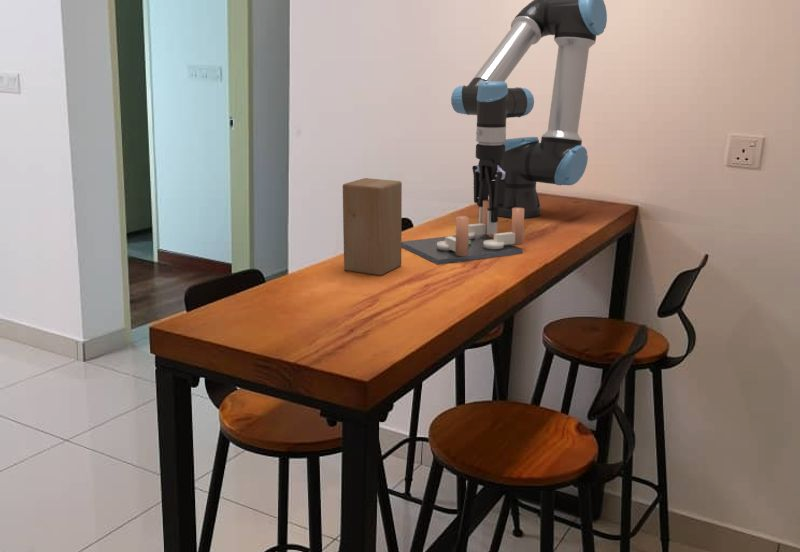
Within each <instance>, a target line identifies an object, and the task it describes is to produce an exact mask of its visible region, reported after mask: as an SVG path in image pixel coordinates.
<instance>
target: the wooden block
mask: <svg viewBox="0 0 800 552" xmlns="http://www.w3.org/2000/svg"><path fill="white" fill-rule="evenodd" d="M402 186H403V185H402V181H400V180H392V179H391V180H390V179H379V178H369V177H365V178H360V179H357V180H353V181H350V182H345V183H343V184H342V218H343V220H342V224H343V227H342V229H343V231H342V233H343V268H344V271H346V272H347V271H348V272H355V273H361V274H369V275H375V276H384V275H385V274H387V273H390V272H391V271H393V270H395V269H397V268H400V267H401V266H402V247H401V242H402V230H403V229H402V224H403V223H402V213H403V210H402V202H403V201H402V200H403V199H402V195H403V194H402V193H403V191H402V190H403V189H402Z"/></svg>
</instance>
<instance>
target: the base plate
mask: <svg viewBox="0 0 800 552" xmlns="http://www.w3.org/2000/svg"><path fill="white" fill-rule="evenodd" d="M449 236H450V235H447V236H439V237H437V236H436V237H430V238H421V239H413V240H404V241H402V240H401V249H402V248H403V249H405V250H407V251H409V252H410V253H413V254H414V255H417V256H420V257H421V258H423V259H425V260H427V261H429V262H432V263H434V264H435V265H439V266H440V265H445V264H446V265H447V264H453V263H461V262H469V261H475V260H483V259H484V260H485V259H489V258H490V259H492V258H498V257H505V256H507V257H508V256H513V255H520V254H521V255H522V254H523V250H524V249H523V248H521V247H519V246H518V245H512V244H507V245H504V247H503V248H501V249H488V248H484V247H483V242H484V241H485V240H494V236H493V237H492V236H484V235H475V237H474V238H473V239H468V255H466V256H458V255H456V254H455V251H453V250H440V249H437V242H440V241H445V237H449ZM451 236H452V237H455V235H451ZM455 238H456V237H455Z"/></svg>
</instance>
